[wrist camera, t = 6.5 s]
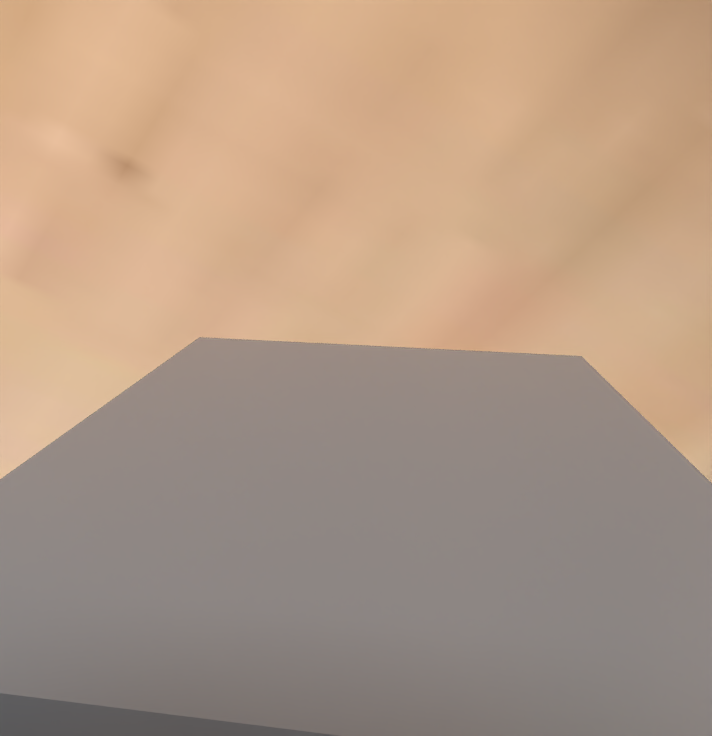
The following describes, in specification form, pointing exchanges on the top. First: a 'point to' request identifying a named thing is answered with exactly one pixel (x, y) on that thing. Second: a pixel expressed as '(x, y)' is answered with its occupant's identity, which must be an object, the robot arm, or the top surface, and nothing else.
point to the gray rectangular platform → (357, 554)
